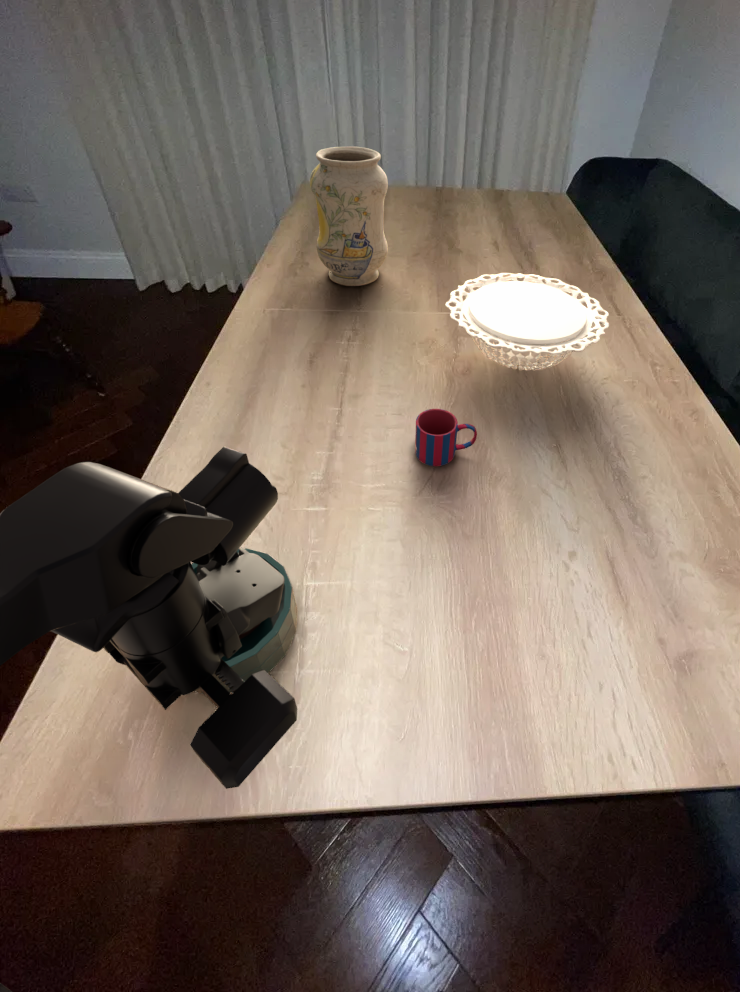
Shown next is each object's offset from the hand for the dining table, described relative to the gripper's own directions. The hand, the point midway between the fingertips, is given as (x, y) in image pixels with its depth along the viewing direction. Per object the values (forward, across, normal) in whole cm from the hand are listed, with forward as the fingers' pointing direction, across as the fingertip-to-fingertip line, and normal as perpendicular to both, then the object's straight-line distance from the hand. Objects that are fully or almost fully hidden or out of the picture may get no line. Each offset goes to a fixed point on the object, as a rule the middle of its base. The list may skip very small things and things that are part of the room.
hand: (210, 707), depth 46 cm
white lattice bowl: (+12, +13, -80) cm, 82 cm away
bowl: (+12, +11, -8) cm, 18 cm away
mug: (+12, +9, -48) cm, 50 cm away
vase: (+12, +66, -86) cm, 109 cm away
